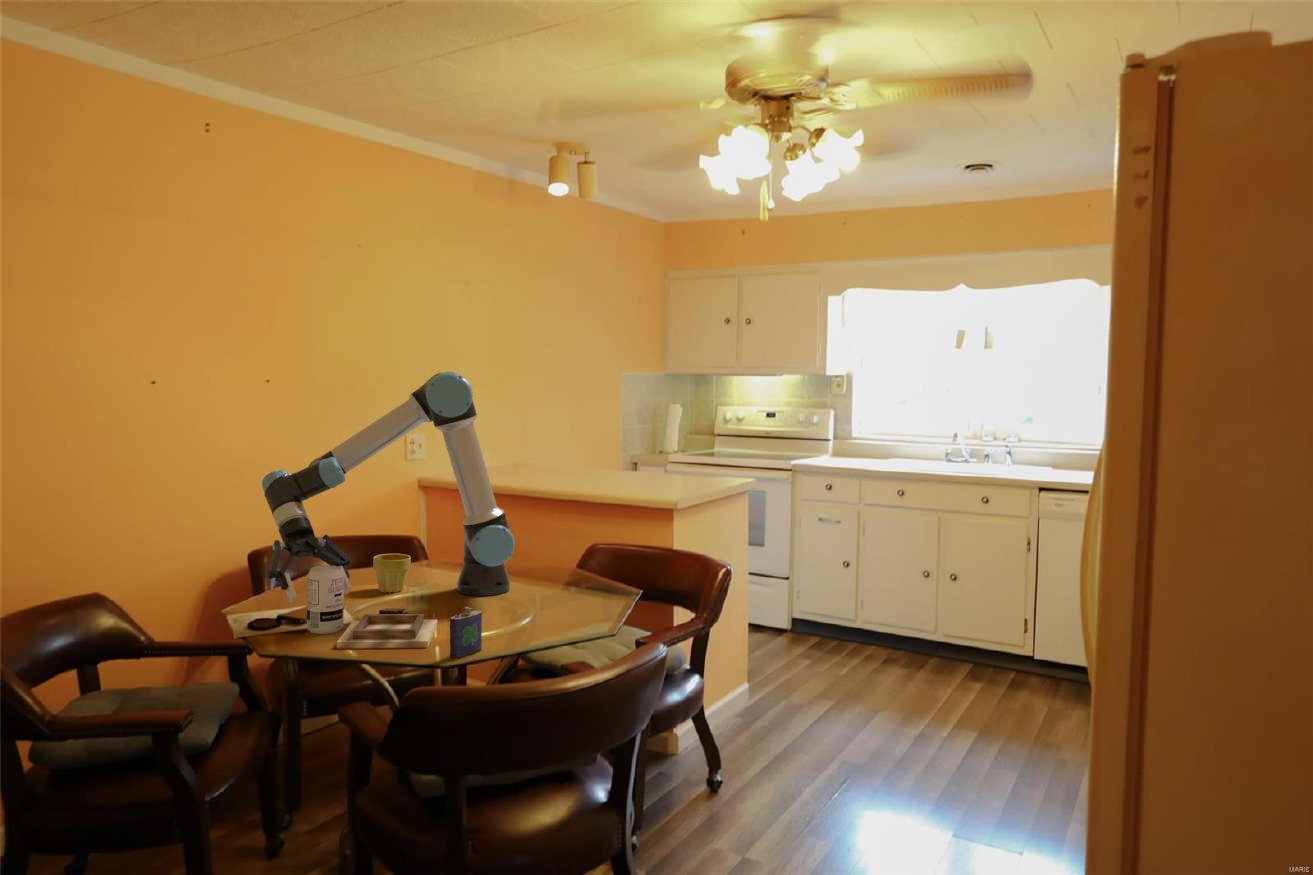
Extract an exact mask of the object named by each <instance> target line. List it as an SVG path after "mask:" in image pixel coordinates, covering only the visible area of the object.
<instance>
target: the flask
mask: <svg viewBox="0 0 1313 875" xmlns="http://www.w3.org/2000/svg"><path fill="white" fill-rule="evenodd" d="M464 609H465V610H463V612H462V613H459V615H457V614H455V615H452V617H450V619H449V659H450V660H460V659H463V658H466V657H470V656H472V655H474V654H477V653H479V652H481V651H482V648H483V647H482V646H483V645H482V644H483V642H482V641H483V640H482V639H483V638H482V631H483V628H482V627H483V626H482V625H483V622H482V621H483V612H482V610H472V608H471V607H468V606H464ZM471 610H472V611H471Z"/></svg>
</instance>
